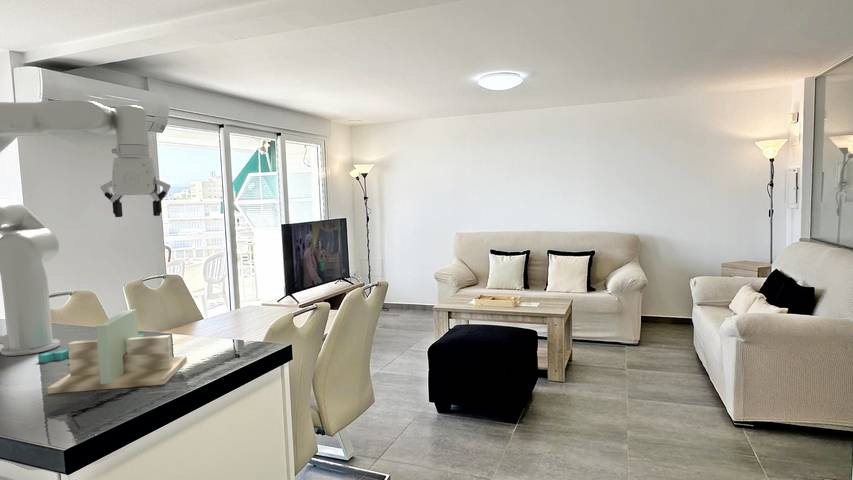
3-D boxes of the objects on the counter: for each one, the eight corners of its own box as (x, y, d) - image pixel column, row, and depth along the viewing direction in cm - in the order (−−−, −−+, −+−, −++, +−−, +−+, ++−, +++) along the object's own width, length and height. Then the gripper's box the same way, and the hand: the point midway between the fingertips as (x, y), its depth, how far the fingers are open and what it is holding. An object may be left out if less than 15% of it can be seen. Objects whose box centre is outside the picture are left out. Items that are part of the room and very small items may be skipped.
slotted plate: (131, 360, 122) (127, 309, 121) (140, 359, 122) (136, 309, 121) (100, 384, 106) (95, 326, 105) (111, 383, 107) (106, 325, 106)
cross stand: (47, 393, 105) (44, 353, 104) (86, 368, 121) (83, 333, 120) (164, 384, 109) (161, 345, 108) (186, 361, 124) (184, 327, 124)
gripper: (92, 152, 136) (97, 217, 137) (162, 151, 139) (167, 215, 140) (104, 154, 144) (109, 217, 145) (172, 153, 146) (176, 215, 148)
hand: (138, 216), depth 142 cm, fingers open, 9 cm apart
